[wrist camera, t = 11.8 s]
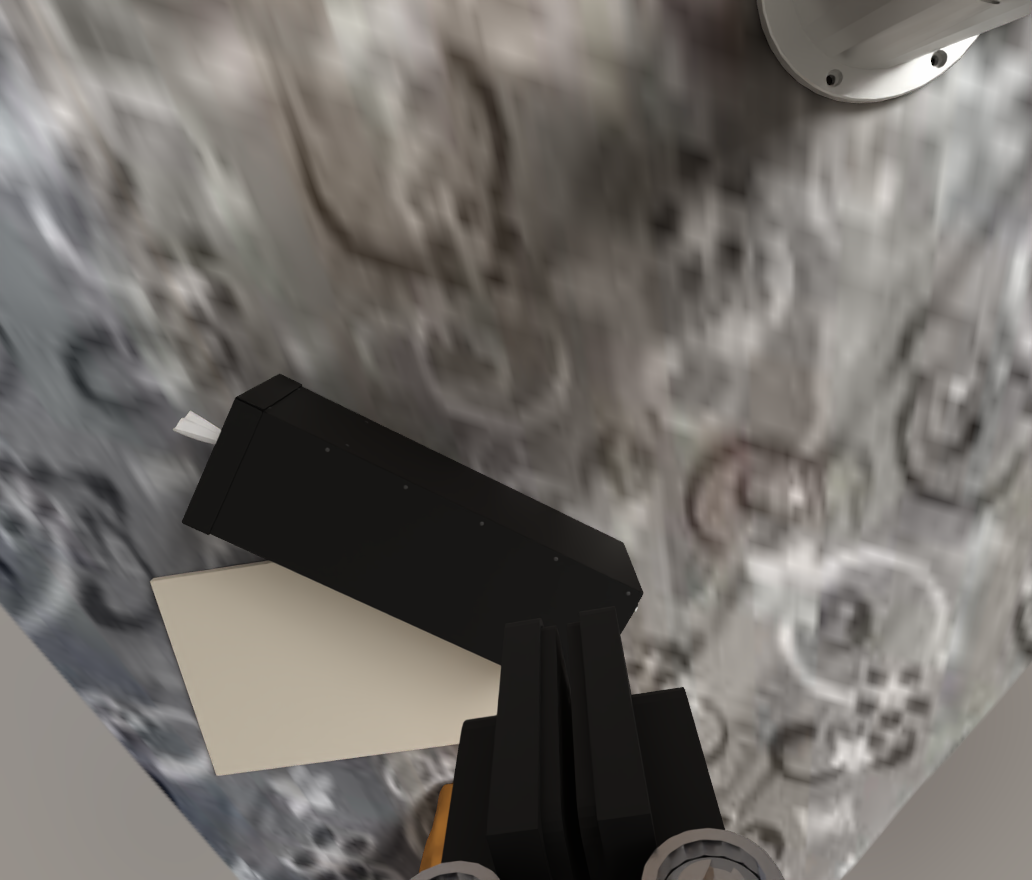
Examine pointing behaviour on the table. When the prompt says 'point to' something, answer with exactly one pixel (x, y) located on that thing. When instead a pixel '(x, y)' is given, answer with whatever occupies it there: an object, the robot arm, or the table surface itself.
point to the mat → (312, 671)
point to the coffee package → (437, 831)
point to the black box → (398, 522)
